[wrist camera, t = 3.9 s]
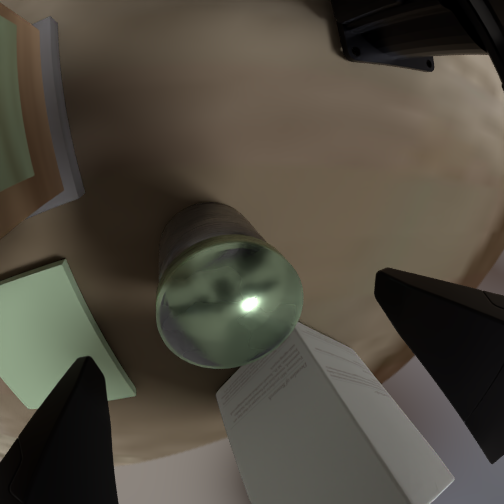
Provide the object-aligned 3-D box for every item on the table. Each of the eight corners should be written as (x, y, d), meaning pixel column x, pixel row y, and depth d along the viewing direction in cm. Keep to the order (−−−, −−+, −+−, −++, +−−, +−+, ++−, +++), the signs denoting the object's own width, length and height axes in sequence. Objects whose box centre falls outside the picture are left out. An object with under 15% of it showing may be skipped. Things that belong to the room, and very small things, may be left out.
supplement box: (210, 393, 17) (273, 576, 6) (286, 311, 16) (424, 513, 5) (288, 412, 20) (357, 543, 9) (354, 348, 19) (460, 479, 8)
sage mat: (65, 258, 11) (61, 264, 11) (136, 388, 15) (136, 395, 15) (-44, 297, 9) (-48, 303, 9) (30, 402, 13) (28, 408, 13)
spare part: (248, 189, 12) (297, 226, 8) (263, 279, 14) (306, 344, 10) (144, 215, 12) (133, 270, 7) (173, 304, 14) (183, 382, 9)
